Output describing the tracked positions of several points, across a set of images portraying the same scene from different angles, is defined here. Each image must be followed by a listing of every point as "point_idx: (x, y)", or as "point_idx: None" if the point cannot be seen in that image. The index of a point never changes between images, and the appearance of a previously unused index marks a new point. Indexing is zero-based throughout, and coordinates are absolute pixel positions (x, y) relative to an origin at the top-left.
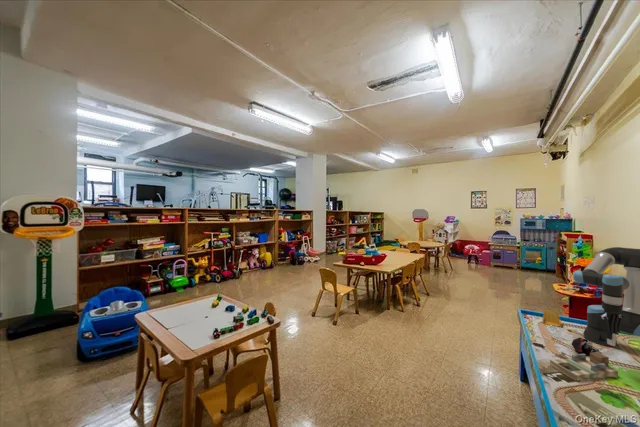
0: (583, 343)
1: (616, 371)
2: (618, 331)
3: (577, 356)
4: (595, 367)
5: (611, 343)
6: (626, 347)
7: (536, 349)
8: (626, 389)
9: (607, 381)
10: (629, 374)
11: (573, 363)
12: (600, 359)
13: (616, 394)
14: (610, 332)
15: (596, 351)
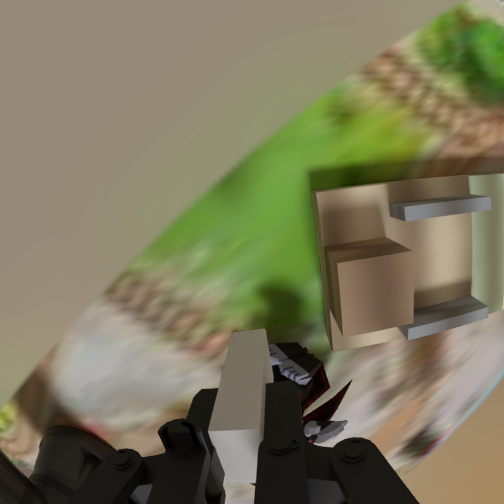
0: (338, 427)
1: (328, 190)
2: (130, 465)
3: (464, 310)
4: (468, 197)
5: (267, 355)
6: (30, 408)
7: (467, 407)
8: (384, 85)
9: (418, 150)
10: (214, 211)
11: (492, 270)
12: (407, 249)
13: (459, 68)
14: (307, 460)
15: (299, 365)
